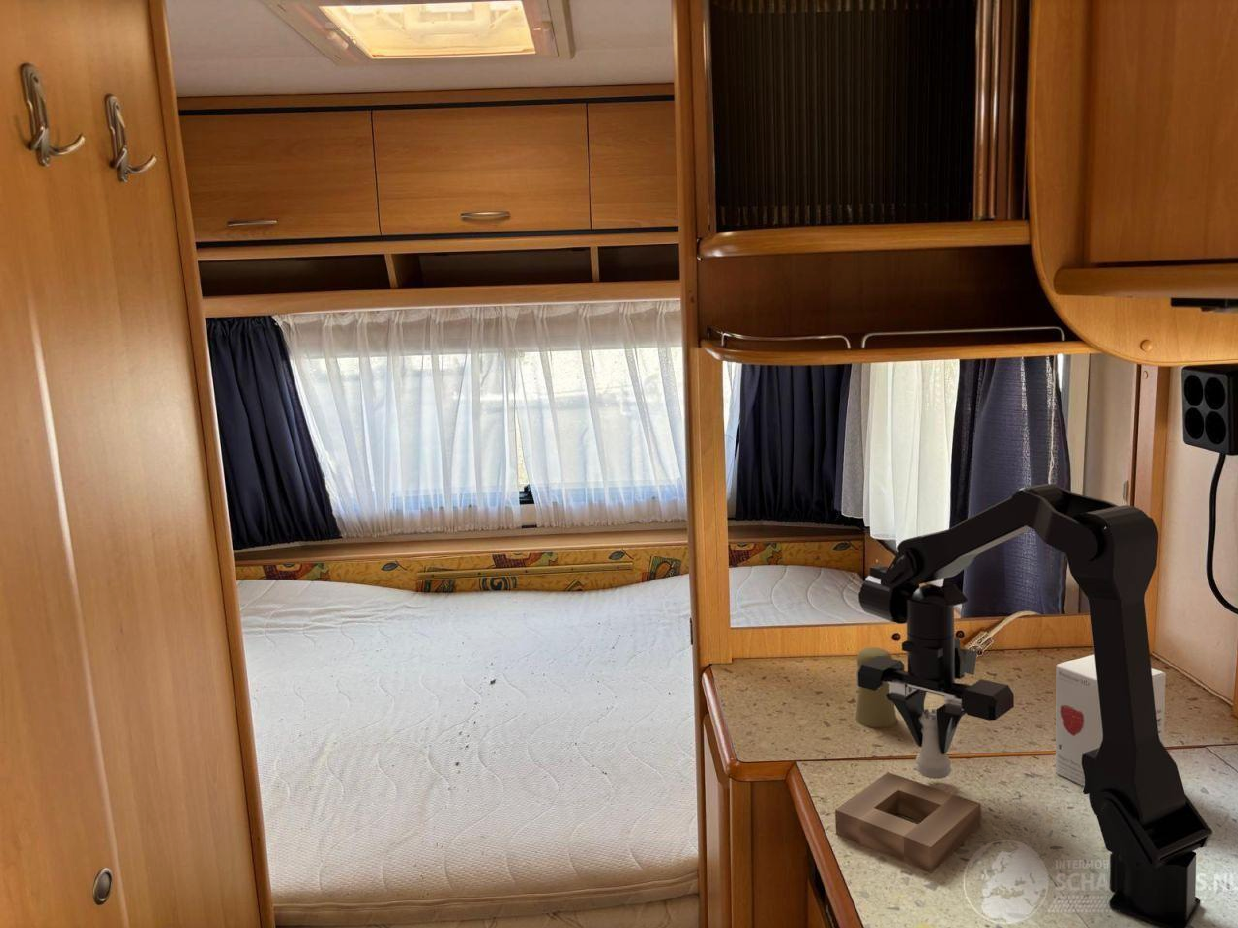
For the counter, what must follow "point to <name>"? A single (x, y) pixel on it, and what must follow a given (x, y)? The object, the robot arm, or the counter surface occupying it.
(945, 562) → the robot arm
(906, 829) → the walnut socket
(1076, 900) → the counter surface
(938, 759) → the rook chess piece
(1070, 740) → the supplement box
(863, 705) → the cork
